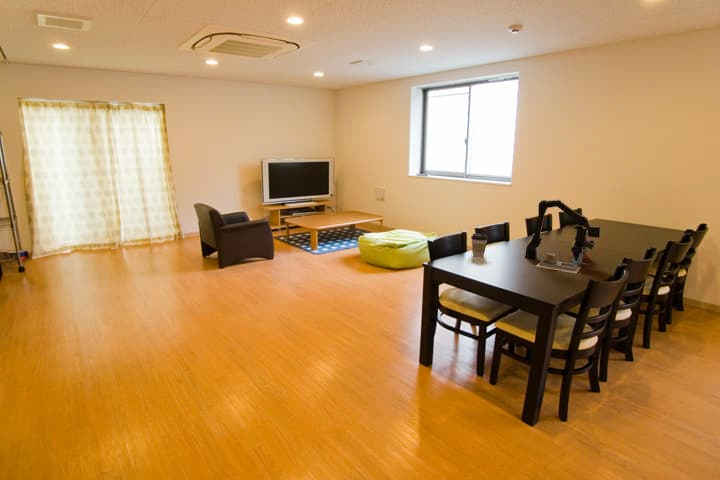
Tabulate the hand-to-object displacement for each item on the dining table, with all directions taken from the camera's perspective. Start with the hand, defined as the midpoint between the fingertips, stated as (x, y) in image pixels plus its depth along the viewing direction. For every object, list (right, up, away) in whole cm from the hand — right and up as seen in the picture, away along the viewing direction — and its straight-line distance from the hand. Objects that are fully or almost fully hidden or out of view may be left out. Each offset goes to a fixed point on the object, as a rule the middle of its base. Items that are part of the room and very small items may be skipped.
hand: (577, 259), depth 264 cm
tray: (-16, -5, -7) cm, 18 cm away
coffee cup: (-59, +1, +17) cm, 62 cm away
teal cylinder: (0, -3, +1) cm, 3 cm away
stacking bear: (+9, +1, +16) cm, 18 cm away
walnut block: (-20, -3, -4) cm, 21 cm away
